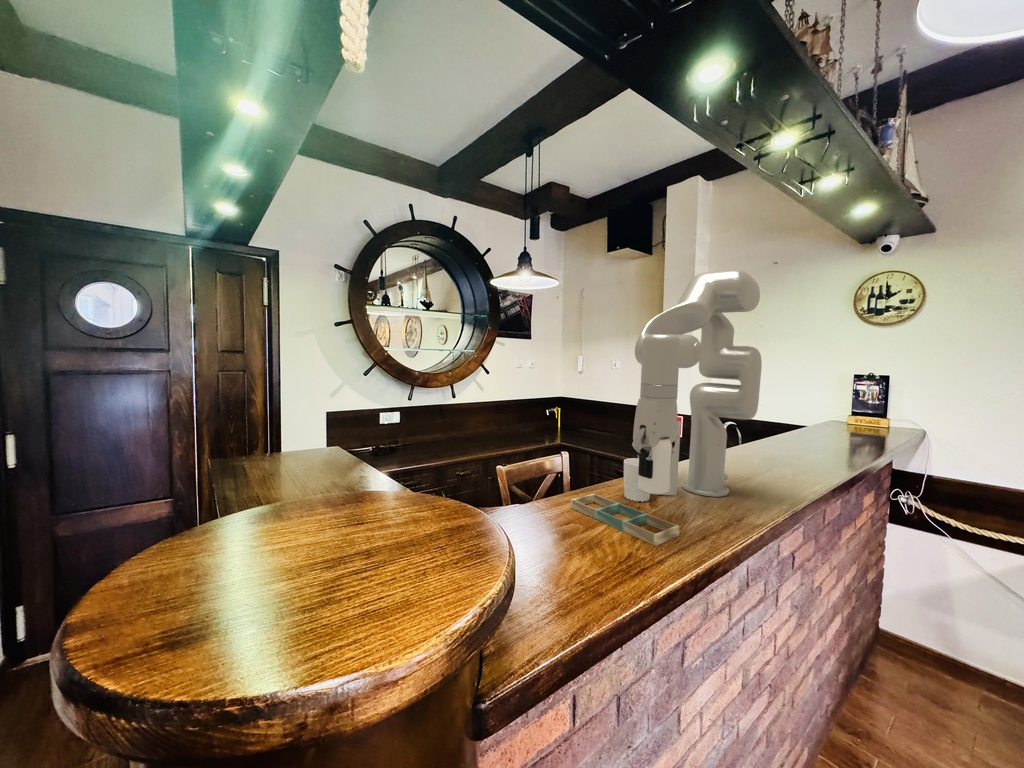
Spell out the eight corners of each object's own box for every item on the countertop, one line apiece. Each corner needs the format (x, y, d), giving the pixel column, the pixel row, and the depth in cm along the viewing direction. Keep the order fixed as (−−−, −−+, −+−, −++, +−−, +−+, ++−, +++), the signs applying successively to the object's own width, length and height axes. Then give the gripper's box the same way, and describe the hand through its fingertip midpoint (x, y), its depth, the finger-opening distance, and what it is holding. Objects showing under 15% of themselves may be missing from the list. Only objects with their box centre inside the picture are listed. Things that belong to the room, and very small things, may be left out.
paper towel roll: (642, 489, 122) (646, 416, 120) (660, 487, 124) (664, 416, 122) (658, 497, 115) (662, 421, 113) (676, 496, 117) (681, 420, 115)
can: (631, 487, 93) (633, 434, 92) (654, 483, 96) (656, 432, 94) (653, 497, 87) (655, 440, 86) (676, 492, 90) (678, 438, 89)
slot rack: (593, 501, 110) (593, 493, 110) (679, 535, 91) (679, 526, 91) (570, 508, 105) (570, 499, 105) (655, 545, 86) (656, 535, 86)
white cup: (648, 493, 118) (650, 459, 117) (654, 503, 110) (657, 466, 110) (619, 492, 119) (621, 457, 118) (624, 501, 111) (626, 464, 110)
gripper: (666, 388, 98) (662, 463, 99) (618, 392, 87) (615, 476, 89) (696, 391, 92) (692, 471, 93) (649, 396, 81) (645, 486, 83)
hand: (654, 473), depth 91 cm, fingers closed on can, 5 cm apart
